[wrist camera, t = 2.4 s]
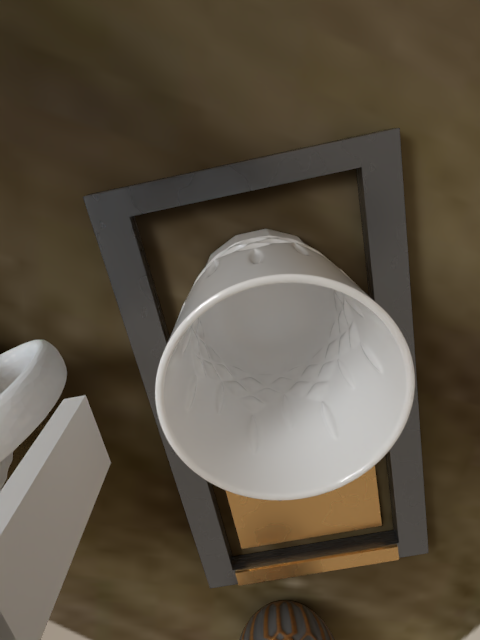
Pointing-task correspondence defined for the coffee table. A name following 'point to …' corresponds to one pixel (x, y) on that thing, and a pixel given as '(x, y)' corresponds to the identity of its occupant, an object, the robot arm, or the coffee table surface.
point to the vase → (286, 623)
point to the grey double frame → (384, 288)
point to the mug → (27, 393)
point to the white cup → (281, 373)
